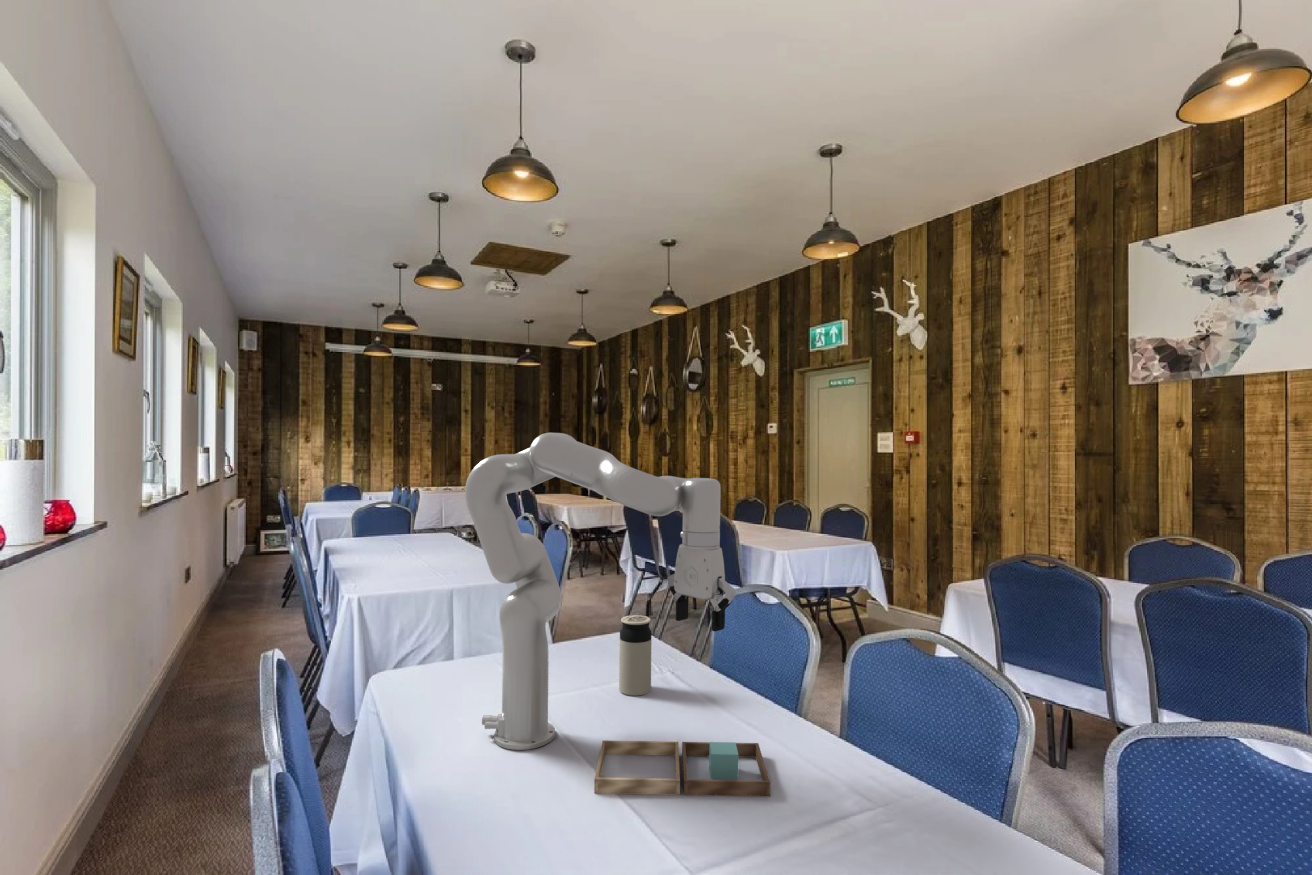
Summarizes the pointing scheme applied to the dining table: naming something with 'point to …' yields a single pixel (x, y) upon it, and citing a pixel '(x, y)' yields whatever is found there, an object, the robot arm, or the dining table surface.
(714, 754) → the teal cube
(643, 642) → the travel mug
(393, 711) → the dining table surface
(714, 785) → the walnut tray
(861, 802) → the dining table surface
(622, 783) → the oak tray
